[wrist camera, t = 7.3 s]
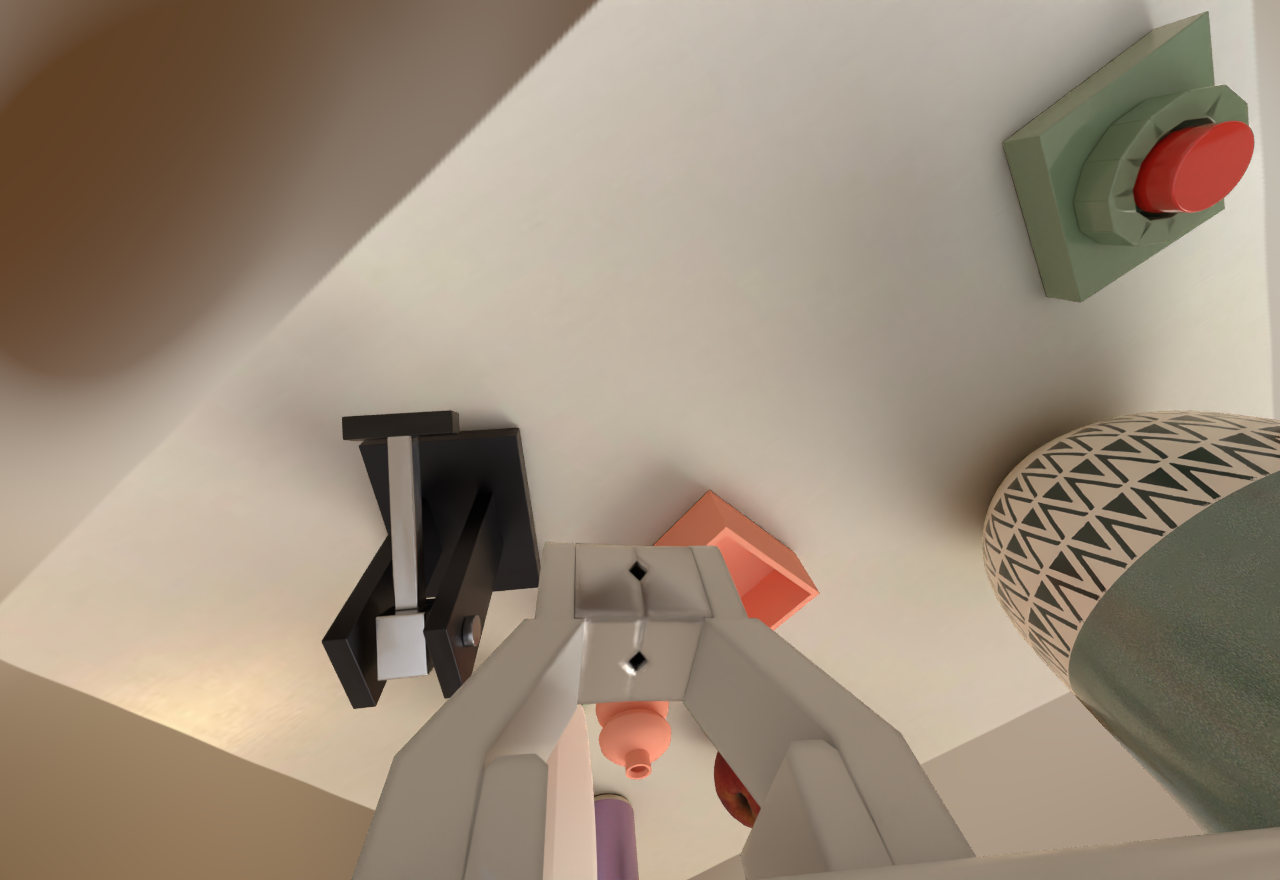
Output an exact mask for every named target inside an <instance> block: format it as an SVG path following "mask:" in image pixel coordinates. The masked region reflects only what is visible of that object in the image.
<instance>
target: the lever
mask: <svg viewBox="0 0 1280 880" xmlns="http://www.w3.org/2000/svg"><path fill="white" fill-rule="evenodd" d="M342 428H343V440H349V441H367V440H382V439H387V443H388V467H389V490H390V513H391V537H392V560H393V583H394V605H393V606H392V607H390V608H389V609H387V610H386V611H384V612H383V613H381V614H380V615H378V616H377V617H375V638H376V663H377V680H378V681H381V680H390V679H400V678H409V677H418V676H427V675H428V674H429V673H430V672H431V671H432V669H433V668H434V665H433V662H432V659H431V656H430V653H429V650H428V647H427V644H426V641H425V638H424V635H423V629H424V626H425V624H426V621H427V619H428V616H429V614H430V611H431V609H432V606H433V604H434V601H435V599H436V598H434V599H426V589H425V568H424V546H423V524H422V503H421V481H420V460H419V438H418V437H430V436H445V435H459V433H460V432H459V414H458V413H456V412H454V411H451V410H449V411H432V412H415V413H398V414H381V415H364V416H347V417H342Z"/></svg>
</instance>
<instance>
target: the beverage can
mask: <svg viewBox="0 0 1280 880" xmlns="http://www.w3.org/2000/svg"><path fill="white" fill-rule="evenodd" d="M594 809H595V826H596V853H597V880H639V875H638V863H637V850H636V837H635V825H634V812H633V808H632V807H631V805H630V803H629V802H628V801H627V800H626V799H625V798H624V797H622V796H619V795H613V794H605V795H599V796H596V797H594Z"/></svg>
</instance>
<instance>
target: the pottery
mask: <svg viewBox="0 0 1280 880" xmlns="http://www.w3.org/2000/svg"><path fill="white" fill-rule="evenodd" d="M653 546H686V547H688V546H717V547H718V548H719V549H720V551H721V553H722V556H723V558H724V560H725V563H726V565H727V568H728V570H729V572H730V575H731V577H732V579H733V582H734V584H735V587H736V589H737V591H738V594H739V596H740V598H741V601H742V603H743V606H744V608H745V610H746V613H747V615H748V617H749V618H758V619H759V620H761V621H762V622H763V623H764V624H766V625H767V626H768V627H769V628H770V629H772V630H773V631H774V630H775V629H776V628H778V627H779V626H780V625H781V624H782V623H784V622H785V621H786V620H787V619H789V618H790V617H791V616H792V615H794V614H795V613H796V612H797V611H798V610H800V609H801V608H802V607H803V606H805V605H806V604H807V603H808V602H810V601H811V600H812V599H813V598H814V597H816V596H817V595H818V594H819V591H818V590H817V588H816V586H815V585H814V583H813V581H812V580H811V578H810V577H809V575H808V573H807V572H806V570H805V569H804V567H803V565H802V564H801V562H800V561H799V559H798V557H797V556H796V554H795V553H794V552H793V551H791V550H790V549H789V548H787V547H786V546H785V545H783V544H782V543H781V542H779V541H778V540H777V539H775V538H774V537H772V536H771V535H770V534H768V533H767V532H766V531H764V530H763V529H762V528H760V527H759V526H757V525H756V524H755V523H753V522H752V521H751V520H749V519H748V518H747V517H745V516H744V515H743V514H741V513H740V512H738V511H737V510H736V509H734V508H733V507H732V506H730V505H729V504H728V503H726V502H725V501H724V500H722V499H721V498H720V497H718V496H717V495H715V494H714V493H713V492H711V491H710V490H709V491H708V492H707V493H706V494H705V495H704V496H703V497H702V498H701V499H700V500H699V501H698V502H697V503H696V504H695V505H694V506H693V507H692V508H691V509H690V510H689V511H688V512H687V513H686V514H685V515H684V516H683V517H682V518H681V519H679V520H678V521H677V522H676V523H675V524H674V525H673V526H672V527H671V528H670V529H669V530H668V531H667V532H666V533H665V534H664V535H663V536H662V537H661V538H660V539H659V540H658V541H657V542H656V543H655V544H654V545H653ZM668 707H669V701H624V702H609V703H596V715H597V718H598V721H599V723H600V725H601V726H602V727H603V729H602V731H601V733H600V735H599V744H600V747H601V751H602V753H603V755H604V756H605V757H606V758H607V759H609V760H611V761H612V762H614V763H615V764H618V765H620V766H625V767H626V776H627V777H628V778H631V779H642V778H645V777H647V776H648V775H650V773H651V771H652V770H651V762H653V761H655V760H657V759H658V758H659V757H660V756H661V755H662V754H663V753H664V752H665V751H666V750H667V748H668V747H669V745H670V741H671V728H670V725H669V724H668V722H667V721H666V720H665V718H666V716H667V713H668Z"/></svg>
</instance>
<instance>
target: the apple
mask: <svg viewBox="0 0 1280 880" xmlns="http://www.w3.org/2000/svg"><path fill="white" fill-rule="evenodd" d="M714 781H715V787H716V792H717V795H718V797H719V799H720V800H721V802H722V804H723V805H724V807H725V808H726V809H727V811H728V812H729V813H730V814H731V815H732V816H733V817H734V818H735V819H737V820H738V821H739V822H741V823H742V824H743V825H745V826H747V827H750V828H753V825H754V823H755V821H756V819H757V816H758V814H759V812H760V810H761V807H760V806H759V805H758V803H757V802H756V801H755V799H754V798H753V797H752V795H751V794H750V793H749V791H748V790H747V789H746V787H745V786H744V785H743V783H742V782H741V781H740V779H739V778H738V777H737V775H736V774H735V773H734V771H733V770H732V768H731V767H730V766H729V764H728V763H727V762H726V760H725V759H724V758H723V756H722V755H721V754H720V752H719V751H718V752H717V756H716V760H715V766H714Z"/></svg>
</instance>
